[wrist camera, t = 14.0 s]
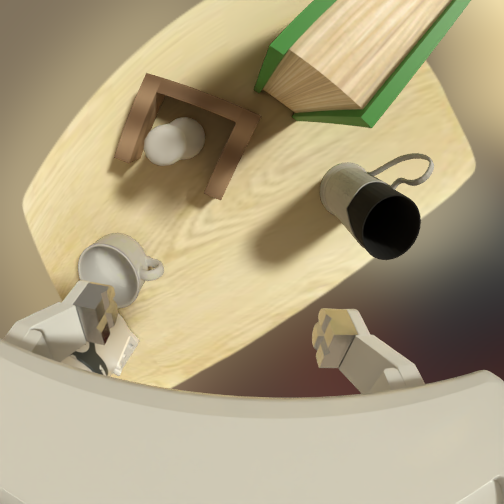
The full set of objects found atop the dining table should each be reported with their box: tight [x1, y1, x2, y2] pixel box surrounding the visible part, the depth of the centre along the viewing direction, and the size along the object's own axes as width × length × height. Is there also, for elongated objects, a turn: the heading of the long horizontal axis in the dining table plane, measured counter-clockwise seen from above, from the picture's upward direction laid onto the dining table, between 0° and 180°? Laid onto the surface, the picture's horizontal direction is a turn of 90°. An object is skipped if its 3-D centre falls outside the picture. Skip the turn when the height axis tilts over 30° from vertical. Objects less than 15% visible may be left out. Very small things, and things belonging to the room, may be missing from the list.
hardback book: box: [254, 0, 471, 128], centre depth 20 cm, size 18×7×24 cm, turn 144°
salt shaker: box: [144, 117, 205, 166], centre depth 30 cm, size 6×6×13 cm
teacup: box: [78, 233, 164, 308], centre depth 40 cm, size 14×11×8 cm
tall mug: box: [320, 153, 434, 260], centre depth 32 cm, size 9×14×15 cm, turn 143°
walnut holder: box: [114, 73, 262, 200], centre depth 33 cm, size 12×16×4 cm
